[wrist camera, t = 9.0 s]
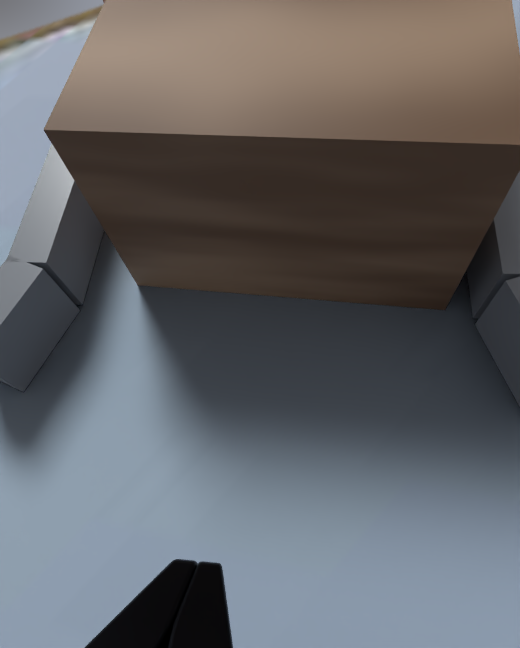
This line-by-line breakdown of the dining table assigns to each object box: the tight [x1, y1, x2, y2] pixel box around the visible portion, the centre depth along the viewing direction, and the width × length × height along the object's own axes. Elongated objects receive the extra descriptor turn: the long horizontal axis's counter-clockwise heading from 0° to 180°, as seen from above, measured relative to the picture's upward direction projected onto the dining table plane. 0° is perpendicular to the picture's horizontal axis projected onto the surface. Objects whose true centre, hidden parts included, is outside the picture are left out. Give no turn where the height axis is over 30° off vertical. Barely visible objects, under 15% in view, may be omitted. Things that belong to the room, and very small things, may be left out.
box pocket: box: [0, 0, 520, 407], centre depth 19 cm, size 20×20×5 cm
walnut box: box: [44, 0, 520, 310], centre depth 18 cm, size 14×12×8 cm
